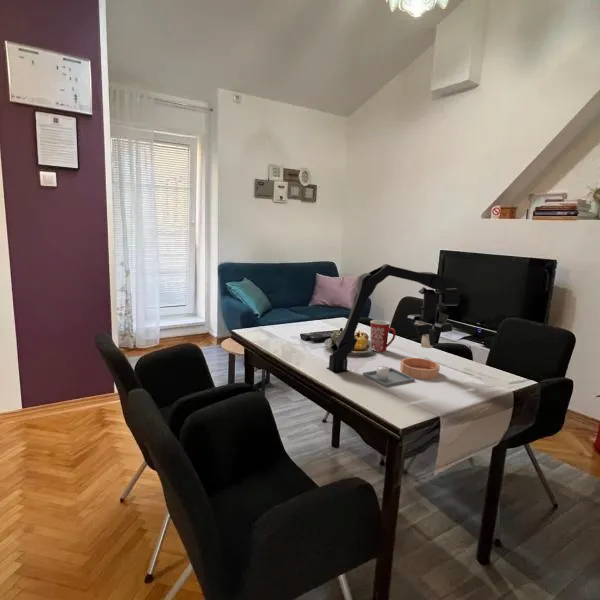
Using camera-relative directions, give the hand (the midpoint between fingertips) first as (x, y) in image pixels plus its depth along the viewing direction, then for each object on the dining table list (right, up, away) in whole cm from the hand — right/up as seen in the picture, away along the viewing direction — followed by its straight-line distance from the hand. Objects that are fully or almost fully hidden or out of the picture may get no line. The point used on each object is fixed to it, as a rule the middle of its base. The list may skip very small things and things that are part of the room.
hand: (427, 344), depth 165 cm
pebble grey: (-19, -12, -8) cm, 24 cm away
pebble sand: (0, -1, 0) cm, 1 cm away
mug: (-13, -6, +28) cm, 32 cm away
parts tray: (-17, -13, -7) cm, 22 cm away
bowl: (-3, -12, +1) cm, 12 cm away
